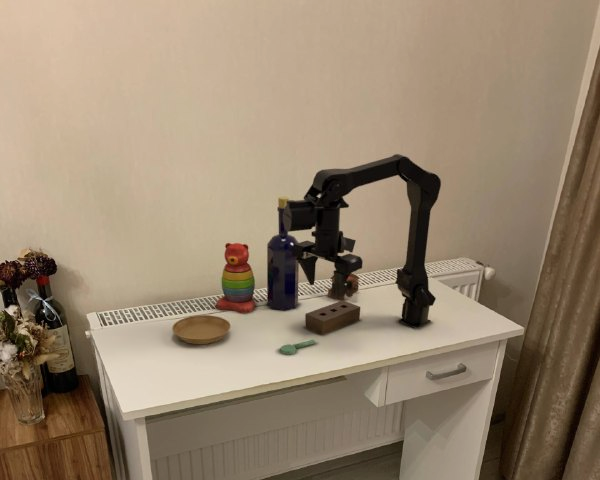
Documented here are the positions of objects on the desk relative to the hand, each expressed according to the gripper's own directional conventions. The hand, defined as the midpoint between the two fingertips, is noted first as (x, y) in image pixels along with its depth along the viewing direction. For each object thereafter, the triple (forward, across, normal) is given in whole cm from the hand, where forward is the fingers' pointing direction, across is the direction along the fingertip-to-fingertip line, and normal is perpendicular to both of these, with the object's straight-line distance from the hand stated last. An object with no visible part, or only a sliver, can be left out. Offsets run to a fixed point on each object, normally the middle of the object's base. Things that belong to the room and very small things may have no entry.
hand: (325, 289), depth 153 cm
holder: (+13, +4, -7) cm, 15 cm away
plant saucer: (+12, +21, +24) cm, 34 cm away
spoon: (+12, -2, +5) cm, 13 cm away
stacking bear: (+13, +31, +3) cm, 33 cm away
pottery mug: (+13, +15, -25) cm, 32 cm away
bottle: (+13, +22, -6) cm, 27 cm away
